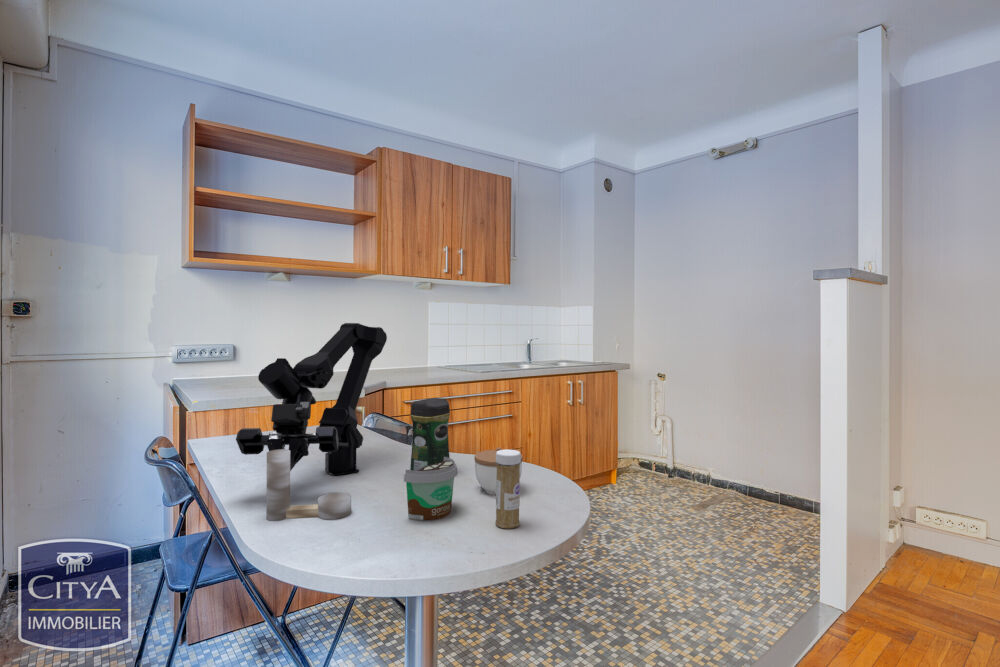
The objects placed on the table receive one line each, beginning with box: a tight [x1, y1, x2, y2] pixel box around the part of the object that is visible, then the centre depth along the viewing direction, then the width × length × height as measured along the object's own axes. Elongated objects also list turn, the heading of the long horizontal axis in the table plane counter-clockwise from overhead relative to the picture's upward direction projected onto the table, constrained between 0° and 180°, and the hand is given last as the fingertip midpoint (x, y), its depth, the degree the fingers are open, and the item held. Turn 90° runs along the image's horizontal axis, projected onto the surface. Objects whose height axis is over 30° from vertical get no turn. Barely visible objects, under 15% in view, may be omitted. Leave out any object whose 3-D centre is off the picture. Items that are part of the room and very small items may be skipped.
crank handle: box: [265, 448, 352, 522], centre depth 95 cm, size 15×6×12 cm, turn 101°
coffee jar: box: [409, 397, 451, 471], centre depth 124 cm, size 10×8×19 cm
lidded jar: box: [474, 447, 524, 495], centre depth 113 cm, size 11×11×9 cm
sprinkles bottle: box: [494, 449, 522, 530], centre depth 94 cm, size 5×5×14 cm
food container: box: [403, 457, 459, 522], centre depth 96 cm, size 12×6×10 cm, turn 148°
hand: (282, 478), depth 98 cm, fingers closed
